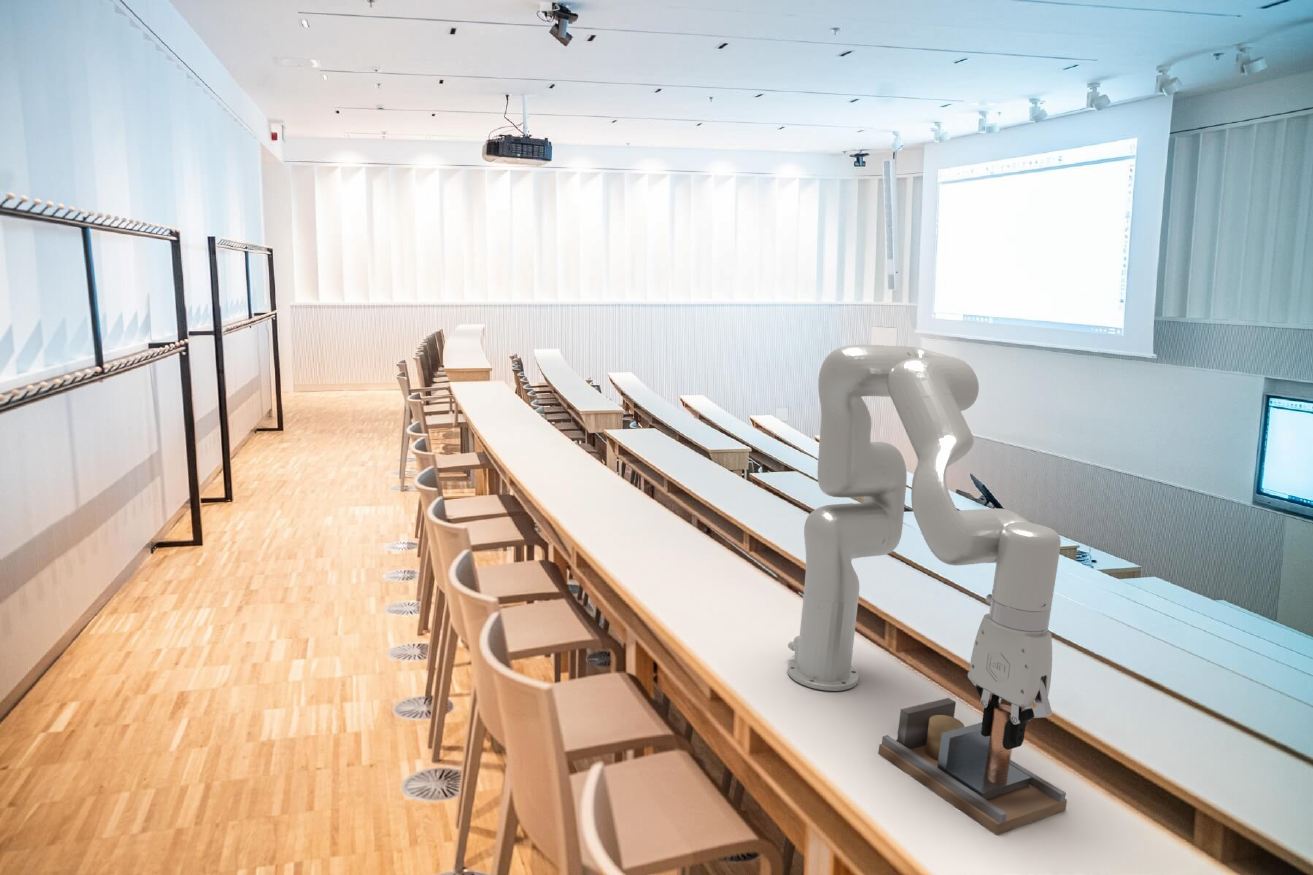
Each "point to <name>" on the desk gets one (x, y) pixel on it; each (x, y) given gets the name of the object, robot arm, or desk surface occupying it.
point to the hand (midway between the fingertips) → (1001, 739)
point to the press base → (990, 812)
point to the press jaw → (982, 757)
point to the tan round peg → (939, 732)
